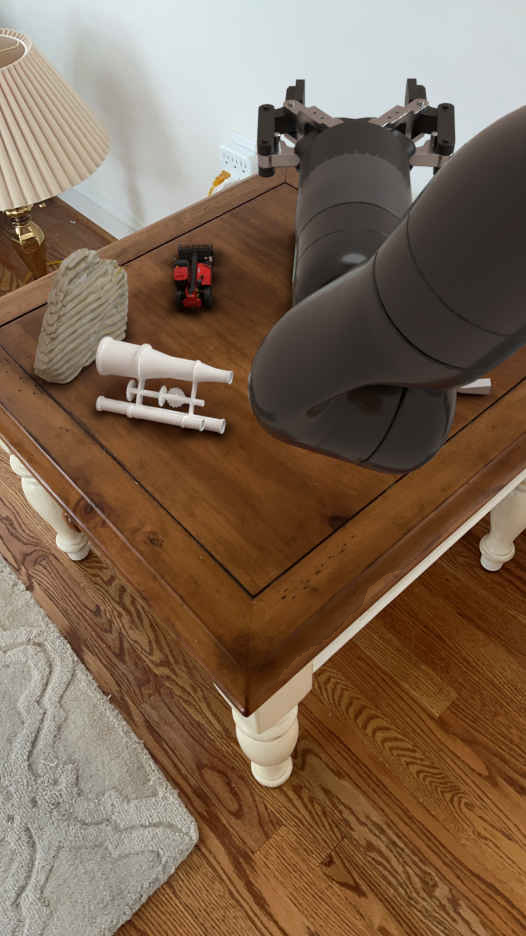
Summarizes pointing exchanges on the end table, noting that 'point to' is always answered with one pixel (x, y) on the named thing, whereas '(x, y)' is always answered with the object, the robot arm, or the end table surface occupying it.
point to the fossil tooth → (81, 314)
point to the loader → (193, 275)
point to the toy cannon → (151, 365)
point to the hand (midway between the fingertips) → (354, 90)
